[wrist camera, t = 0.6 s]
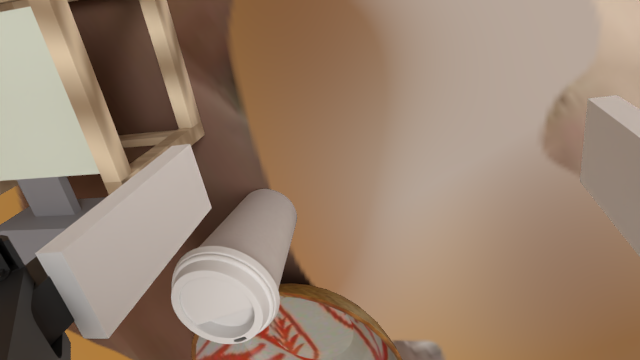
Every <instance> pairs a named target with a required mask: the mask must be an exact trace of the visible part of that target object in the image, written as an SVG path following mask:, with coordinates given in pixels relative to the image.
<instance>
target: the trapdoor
mask: <svg viewBox="0 0 640 360" xmlns="http://www.w3.org/2000/svg"><path fill="white" fill-rule="evenodd" d="M89 174H100V172H99V170H98V168H97V165H96V163H95V160H94V158H93V156H92V153H91V151H90V148H89V146H88V144H87V141H86V139H85V136H84V134H83V132H82V129H81V127H80V124H79V122H78V120H77V117H76V115H75V112H74V110H73V108H72V105H71V103H70V100H69V98H68V95H67V93H66V91H65V88H64V86H63V83H62V81H61V79H60V76H59V74H58V71H57V69H56V67H55V64H54V62H53V59H52V57H51V55H50V52H49V50H48V47H47V45H46V43H45V40H44V38H43V35H42V33H41V31H40V28H39V26H38V23H37V21H36V18H35V16H34V14H33V11H32V9H31V6H30V7H25V8H19V9H14V10H8V11H3V12H0V181H5V180H17V182H18V184H19V186H20V188H21V190H22V192H23V194H24V196H25V198H26V199H27V201H28V203H29V205H30V206H29V207H28V208H26V209H25V210H23V211H21V212H20V213H18V214H17V215H15V216H14V217H12V218H11V219H9V220H7V221H6V222H4V223H3V224H1V225H0V235H5V236H8V238H9V239H10V241H11V243H12V244H13V246H14V248H15V249H16V251H17V253H18V254H19V256H20V258H21V259H22V261H23V263H24V264H25V265H26V264H27V263H29V262H30V261H31V260H32V259H34V258H35V257H36V254H35V253H36V252H37V251H39V250H40V249H41V248H43V247H44V246H45V245H46V244H48V243H49V242H50V241H51V240H53V239H54V238H55V237H57V236H58V235H59V234H60V233H62V232H63V231H64V230H65V229H67V228H68V227H69V226H71V225H72V224H73V223H74V222H76V221H77V220H78V219H79V218H81V217H82V216H83V215H85V214H86V213H87V212H88V211H90V210H91V209H92V208H93V207H95V206H96V205H97V204H99V203H100V202H101V201H102V200H104V199H105V198H106V197H104V198H86V199H76V196H75V194H74V192H73V190H72V188H71V185H70V183H69V181H68V179H67V177H66V176H75V175H89Z"/></svg>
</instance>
